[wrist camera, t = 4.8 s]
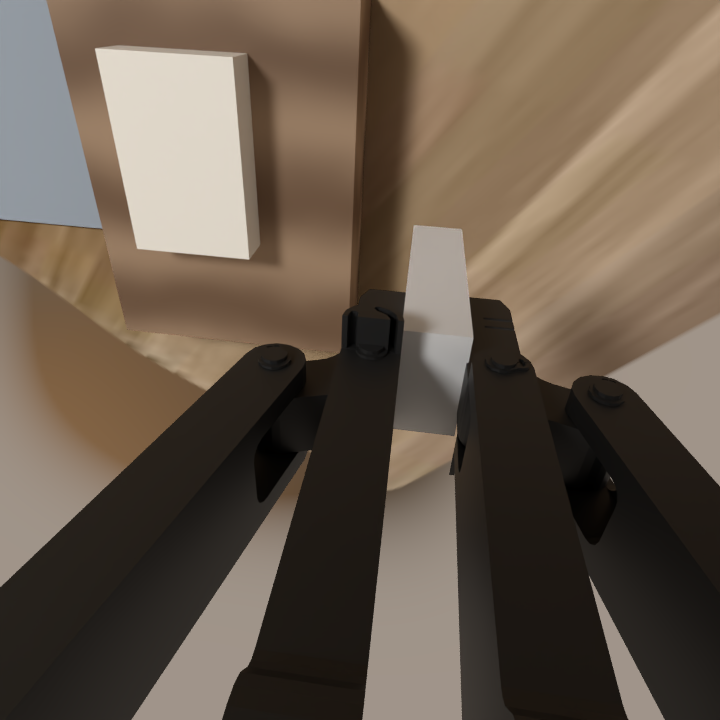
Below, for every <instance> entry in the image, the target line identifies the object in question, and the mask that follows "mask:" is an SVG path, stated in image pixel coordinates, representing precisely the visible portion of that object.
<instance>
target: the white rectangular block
mask: <svg viewBox="0 0 720 720" xmlns="http://www.w3.org/2000/svg"><path fill="white" fill-rule="evenodd" d="M95 51H96V56H97V61H98V66H99V70H100V75H101V80H102V85H103V89H104V94H105V99H106V104H107V108H108V113H109V118H110V123H111V127H112V132H113V137H114V141H115V146H116V151H117V156H118V160H119V165H120V170H121V175H122V179H123V184H124V189H125V194H126V198H127V203H128V208H129V213H130V217H131V222H132V227H133V232H134V236H135V241H136V246H137V249H144V250H154V251H165V252H175V253H185V254H196V255H206V256H217V257H227V258H238V259H248V260H249V259H250V258H251V257H252V255H253V254H254V253H255V251H256V250H257V249H258V247H259V246H260V232H259V218H258V203H257V188H256V174H255V159H254V144H253V129H252V115H251V100H250V85H249V71H248V56H247V53H233V52H217V51H202V50H186V49H170V48H154V47H139V46H123V45H117V46H109V47H101V48H95Z"/></svg>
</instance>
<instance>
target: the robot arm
mask: <svg viewBox="0 0 720 720" xmlns="http://www.w3.org/2000/svg"><path fill="white" fill-rule="evenodd" d="M456 424H457V438H456V443H455V448H454V453H453V458H452V463H451V468H450V473H449V475H454V474H455V500H456V533H457V562H458V563H457V566H458V598H459V629H460V630H459V632H460V665H461V695H462V696H461V698H462V720H628V718H627V716H626V713H625V710H624V707H623V704H622V700H621V697H620V693H619V689H618V685H617V681H616V677H615V674H614V670H613V666H612V662H611V658H610V654H609V651H608V647H607V643H606V640H605V636H604V632H603V628H602V624H601V620H600V616H599V613H598V609H597V605H596V602H595V598H594V594H593V590H592V586H591V582H590V579H589V576H590V578H591V580H592V582H593V583H594V586H595V587H596V589H597V591H598V593H599V595H600V597H601V599H602V601H603V603H604V605H605V607H606V608H607V610H608V612H609V614H610V616H611V618H612V620H613V622H614V623H615V626H616V627H617V629H618V631H619V633H620V635H621V637H622V639H623V641H624V643H625V645H626V646H627V648H628V650H629V652H630V654H631V656H632V658H633V660H634V662H635V664H636V666H637V667H638V669H639V671H640V673H641V675H642V677H643V679H644V681H645V683H646V684H647V686H648V688H649V690H650V692H651V694H652V696H653V698H654V700H655V702H656V703H657V706H658V707H659V709H660V711H661V713H662V715H663V717H664V719H665V720H720V486H719V485H718V484H717V483H716V482H715V481H714V480H713V478H712V477H711V476H710V475H709V474H708V473H707V472H706V470H705V469H704V468H703V467H702V466H701V465H700V464H699V463H698V461H697V460H696V459H695V458H694V457H693V456H692V455H691V454H690V453H689V452H688V450H687V449H686V448H685V447H684V446H683V445H682V444H681V443H680V441H679V440H678V439H677V438H676V437H675V436H674V435H673V434H672V432H671V431H670V430H669V429H668V428H667V427H666V426H665V425H664V424H663V422H662V421H661V420H660V419H659V418H658V417H657V416H656V414H655V413H654V412H653V411H652V410H651V409H650V408H649V407H648V406H647V404H646V403H645V402H644V401H643V400H642V399H641V398H640V397H639V396H638V394H637V393H635V392H634V391H633V390H632V389H631V388H629V387H628V386H626V385H625V384H623V383H620V382H618V381H617V380H615V379H612V378H608V377H604V376H592V375H590V376H584V377H580V378H578V379H577V380H575V381H574V382H573V385H572V388H571V389H568V388H564V387H561V386H558V385H554V384H551V383H549V382H546V381H543V380H542V379H540V378H538V377H536V373H535V369H534V367H533V365H532V364H531V362H530V361H529V360H528V359H526V358H525V357H524V356H522V355H520V350H519V346H518V342H517V338H516V334H515V331H514V325H513V322H512V317H511V313H510V310H509V309H508V308H507V307H506V306H505V305H504V304H503V303H502V302H501V301H500V300H491V299H481V298H471V297H469V291H468V281H467V272H466V263H465V253H464V244H463V234H462V229H454V228H442V227H431V226H419V225H414V228H413V237H412V245H411V254H410V262H409V271H408V279H407V288H406V293H405V292H395V291H385V290H375V289H370V290H368V291H367V292H366V293H365V294H363V295H362V296H361V297H360V300H359V304H358V305H355V306H353V307H351V308H349V309H347V310H346V311H345V312H344V313H343V315H342V337H341V350H340V353H339V354H337V355H335V356H333V357H330V358H327V359H321V360H312V361H306V359H305V355H304V353H303V352H302V351H301V350H299V349H298V348H296V347H293V346H291V345H287V344H280V343H274V344H272V343H271V344H265V345H262V346H259V347H255V348H254V349H252V350H251V351H249V352H248V353H246V354H245V355H244V356H243V357H242V358H241V359H240V360H239V361H238V362H237V363H236V364H235V365H234V366H233V367H232V368H231V369H230V370H229V371H227V372H226V373H225V374H224V375H223V376H222V377H221V378H220V379H219V380H218V381H217V382H216V383H215V384H214V385H213V386H212V387H211V388H210V389H209V390H207V391H206V392H205V393H204V394H203V395H202V396H201V397H200V398H199V399H198V400H197V401H196V402H195V403H194V404H193V405H192V406H191V407H190V408H189V409H188V410H186V411H185V412H184V413H183V414H182V415H181V416H180V417H179V418H178V419H177V420H176V421H175V422H174V423H173V424H172V425H171V426H170V427H169V428H168V429H166V430H165V431H164V432H163V433H162V434H161V435H160V436H159V437H158V438H157V439H156V440H155V441H154V442H153V443H152V444H151V445H150V446H149V447H148V448H146V450H144V451H143V452H142V453H141V454H140V455H139V456H138V457H137V458H136V459H135V460H134V461H133V462H132V463H131V464H130V465H129V466H128V467H127V468H125V469H124V470H123V471H122V472H121V473H120V474H119V475H118V476H117V477H116V478H115V479H114V480H113V481H112V482H111V483H110V484H109V485H108V486H107V487H105V488H104V489H103V490H102V491H101V492H100V493H99V494H98V495H97V496H96V497H95V498H94V499H93V500H92V501H91V502H90V503H89V504H88V505H87V506H85V508H83V510H81V512H79V513H78V514H77V515H76V516H75V517H74V518H73V519H72V520H71V521H70V522H69V523H68V524H67V525H66V526H65V527H63V528H62V529H61V530H60V531H59V532H58V533H57V534H56V535H55V536H54V537H53V538H52V539H51V540H50V541H49V542H48V543H47V544H45V546H43V547H42V548H41V549H40V550H39V551H38V552H37V553H36V554H35V555H34V556H33V557H32V558H31V559H30V560H29V561H28V562H27V563H26V564H24V566H22V567H21V568H20V569H19V570H18V571H17V572H16V573H15V574H14V575H13V576H12V577H11V578H10V579H9V580H8V581H7V582H6V583H5V584H3V585H2V587H0V720H131V719H132V718H133V716H134V715H135V713H136V712H137V710H138V709H139V707H140V706H141V704H142V703H143V701H144V700H145V698H146V697H147V695H148V694H149V692H150V691H151V689H152V688H153V686H154V685H155V683H156V682H157V680H158V679H159V677H160V676H161V674H162V673H163V671H164V670H165V668H166V667H167V665H168V664H169V662H170V661H171V659H172V658H173V656H174V655H175V653H176V652H177V650H178V649H179V647H180V646H181V644H182V643H183V641H184V640H185V638H186V637H187V635H188V634H189V632H190V631H191V629H192V628H193V626H194V625H195V623H196V622H197V620H198V619H199V617H200V616H201V614H202V613H203V611H204V610H205V608H206V607H207V605H208V604H209V602H210V601H211V599H212V598H213V596H214V595H215V593H216V592H217V590H218V589H219V587H220V586H221V584H222V583H223V581H224V580H225V578H226V577H227V575H228V574H229V572H230V571H231V569H232V568H233V566H234V565H235V563H236V562H237V560H238V559H239V557H240V556H241V554H242V552H243V551H244V549H245V548H246V547H247V545H248V543H249V542H250V541H251V539H252V538H253V536H254V534H255V533H256V531H257V530H258V528H259V527H260V525H261V524H262V522H263V521H264V519H265V518H266V516H267V515H268V513H269V512H270V510H271V509H272V507H273V506H274V504H275V503H276V501H277V500H278V498H279V497H280V495H281V494H282V492H283V491H284V489H285V488H286V486H287V485H288V483H289V482H290V480H291V479H292V477H293V476H294V474H295V473H296V471H297V470H298V468H299V467H300V465H301V464H302V462H303V461H304V459H305V457H306V454H307V451H308V450H312V451H311V455H310V458H309V462H308V465H307V469H306V472H305V476H304V480H303V483H302V486H301V490H300V493H299V497H298V500H297V504H296V507H295V511H294V514H293V518H292V521H291V525H290V528H289V532H288V535H287V539H286V542H285V546H284V549H283V553H282V556H281V560H280V563H279V567H278V570H277V574H276V577H275V581H274V584H273V587H272V591H271V594H270V598H269V601H268V605H267V608H266V612H265V616H264V619H263V623H262V626H261V629H260V633H259V637H258V640H257V644H256V647H255V650H254V653H253V656H252V659H251V662H250V663H249V665H248V667H246V668H245V669H244V670H242V671H241V672H240V674H239V676H238V677H237V679H236V681H235V683H234V685H233V689H232V691H231V694H230V697H229V700H228V703H227V706H226V709H225V712H224V715H223V719H222V720H362V717H363V708H364V698H365V688H366V679H367V669H368V659H369V650H370V641H371V631H372V622H373V613H374V603H375V593H376V584H377V575H378V566H379V556H380V546H381V537H382V528H383V518H384V508H385V499H386V490H387V481H388V471H389V462H390V453H391V443H392V434H393V429H400V430H408V431H417V432H425V433H434V434H442V435H451V436H454V434H455V429H456ZM610 477H611V478H612V480H613V481H612V480H611V479H610ZM613 482H614V483H613ZM588 574H589V575H588Z"/></svg>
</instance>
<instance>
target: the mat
mask: <svg viewBox="0 0 720 720" xmlns="http://www.w3.org/2000/svg"><path fill="white" fill-rule="evenodd" d="M0 219H4V220H15V221H25V222H36V223H47V224H58V225H68V226H79V227H90V228H101V229H102V225H101V221H100V217H99V213H98V209H97V205H96V201H95V196H94V192H93V188H92V184H91V180H90V176H89V172H88V168H87V164H86V160H85V156H84V152H83V148H82V143H81V139H80V135H79V131H78V127H77V123H76V119H75V115H74V111H73V107H72V103H71V99H70V95H69V90H68V86H67V82H66V78H65V74H64V70H63V66H62V62H61V58H60V54H59V50H58V46H57V42H56V37H55V33H54V29H53V25H52V21H51V17H50V13H49V9H48V5H47V1H46V0H0Z"/></svg>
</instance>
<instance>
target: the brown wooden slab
mask: <svg viewBox="0 0 720 720" xmlns="http://www.w3.org/2000/svg"><path fill="white" fill-rule="evenodd" d="M46 1H47V5H48V9H49V13H50V17H51V21H52V25H53V29H54V33H55V37H56V42H57V46H58V50H59V54H60V58H61V62H62V66H63V70H64V74H65V78H66V82H67V86H68V90H69V95H70V99H71V103H72V107H73V111H74V115H75V119H76V123H77V127H78V131H79V135H80V139H81V143H82V148H83V152H84V156H85V160H86V164H87V168H88V172H89V176H90V180H91V184H92V188H93V192H94V196H95V201H96V205H97V209H98V213H99V217H100V221H101V225H102V229H103V233H104V237H105V241H106V245H107V249H108V254H109V258H110V262H111V266H112V270H113V274H114V278H115V282H116V286H117V290H118V294H119V298H120V302H121V307H122V311H123V315H124V319H125V323H126V327H127V330H134V331H143V332H152V333H161V334H171V335H180V336H189V337H198V338H207V339H217V340H226V341H235V342H244V343H253V344H263V345H265V344H271V343H272V344H274V343H280V344H287V345H291V346H293V347H296V348H299V349H308V350H318V351H327V352H336V353H340V350H341V337H342V315H343V313H344V312H345V311H346V310H347V309H349V308H351V307H353V306H355V305H357V298H358V276H359V255H360V233H361V212H362V191H363V169H364V148H365V127H366V105H367V84H368V62H369V41H370V20H371V0H46ZM117 45H123V46H139V47H154V48H170V49H186V50H202V51H217V52H233V53H247V56H248V71H249V85H250V100H251V115H252V129H253V144H254V159H255V174H256V188H257V203H258V218H259V232H260V246H259V247H258V249H257V250H256V251H255V253H254V254H253V255H252V257H251V258H250V259H249V260H248V259H238V258H227V257H217V256H206V255H196V254H185V253H175V252H165V251H154V250H144V249H137V246H136V241H135V236H134V232H133V227H132V222H131V217H130V213H129V208H128V203H127V198H126V194H125V189H124V184H123V179H122V175H121V170H120V165H119V160H118V156H117V151H116V146H115V141H114V137H113V132H112V127H111V123H110V118H109V113H108V108H107V104H106V99H105V94H104V89H103V85H102V80H101V75H100V70H99V66H98V61H97V56H96V51H95V48H101V47H109V46H117Z"/></svg>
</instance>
